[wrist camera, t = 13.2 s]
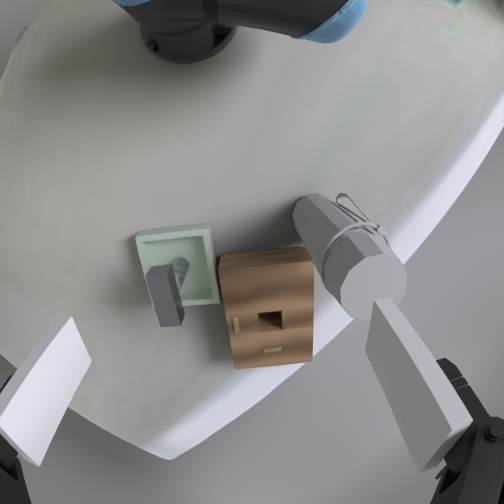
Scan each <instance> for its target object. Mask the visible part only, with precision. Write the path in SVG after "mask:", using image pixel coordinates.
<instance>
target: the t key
mask: <svg viewBox="0 0 504 504" xmlns="http://www.w3.org/2000/svg"><path fill="white" fill-rule="evenodd" d="M189 267H190V265H189V262H188V260H187V259H185V258H183V257H177V258H175V259H174V260H173V262H172V264H167V265H158V266H152V267H151V268H150V270H149V271H148V272H147V274H146V275H145V276H146V280H147V284H148V287H149V290H150V294H151V297H152V301H153V304H154V307H155V310H156V313H157V317H158V320H159V323H160V326H161V327H169V326H181V324H182V321H183V318H184V315H185V313H184V309H183V306H182V302H181V298H180V294H179V292H180V289H181V287H182V285H183V282H184V280H185V277H186V275H187V272H188V270H189Z"/></svg>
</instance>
